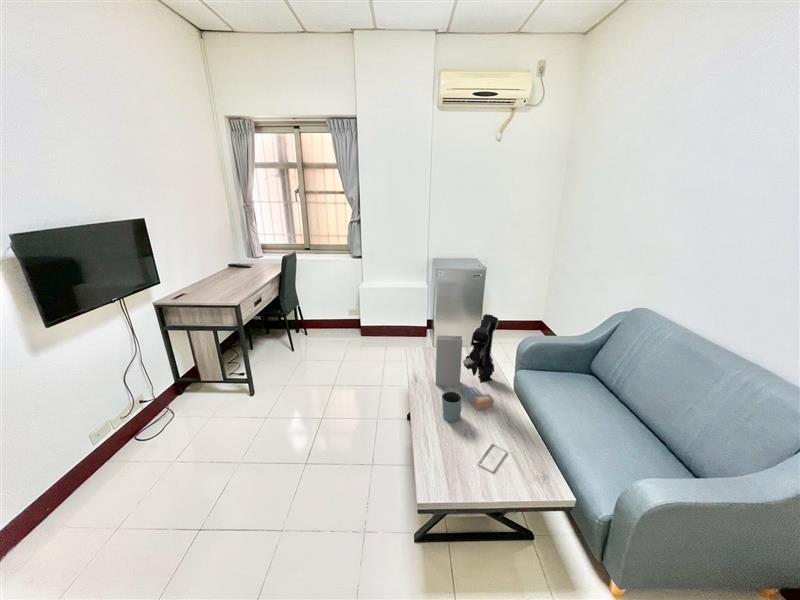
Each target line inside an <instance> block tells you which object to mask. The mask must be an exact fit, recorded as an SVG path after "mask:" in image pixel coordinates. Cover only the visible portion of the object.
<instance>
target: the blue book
mask: <svg viewBox="0 0 800 600" xmlns="http://www.w3.org/2000/svg"><path fill="white" fill-rule="evenodd" d="M460 391H461V392H462V394H464V396H466V397H465V398H467V399H468V400H469V401H470V403H471V404H472V405H473V401H474V397H476V396H482V395H484V394H483V393H482V392H481V391H480V390H479V389H478V388H477V386H470V387H466V388H461V389H460Z"/></svg>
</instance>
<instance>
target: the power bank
mask: <svg viewBox="0 0 800 600" xmlns="http://www.w3.org/2000/svg"><path fill="white" fill-rule="evenodd" d="M492 446H496V447H498V448H500V449H502V450H504V454H503V455H502V456H501V458H500V460H499V461H497V462H498V463H497V464H496V466H495V467H494V469H490V468H488V467H486V466H484V465H483V464H481V463H480V460H481V459H482V458H483V457H485V455H486V453H487V452H488V451H489V449H490V448H491V447H492ZM507 453H508V450H507V449H506V448H503V447H502V446H500V445H497V444H495V443H494V442H492V443H490V445H489V446H488V447H487V449H486V450H485V451H484V452H483V454H482V455H481V457H480V458H479V459H478V460H477V462H476V465H477V466H479V467H481V468H482V469H484V470H486V471H487V472H489V473H494V472H495V471H496V469H497V468H498V466H499V465H500V463H501V462H502V461H503V460H504V458H505V456H506V455H507Z"/></svg>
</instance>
